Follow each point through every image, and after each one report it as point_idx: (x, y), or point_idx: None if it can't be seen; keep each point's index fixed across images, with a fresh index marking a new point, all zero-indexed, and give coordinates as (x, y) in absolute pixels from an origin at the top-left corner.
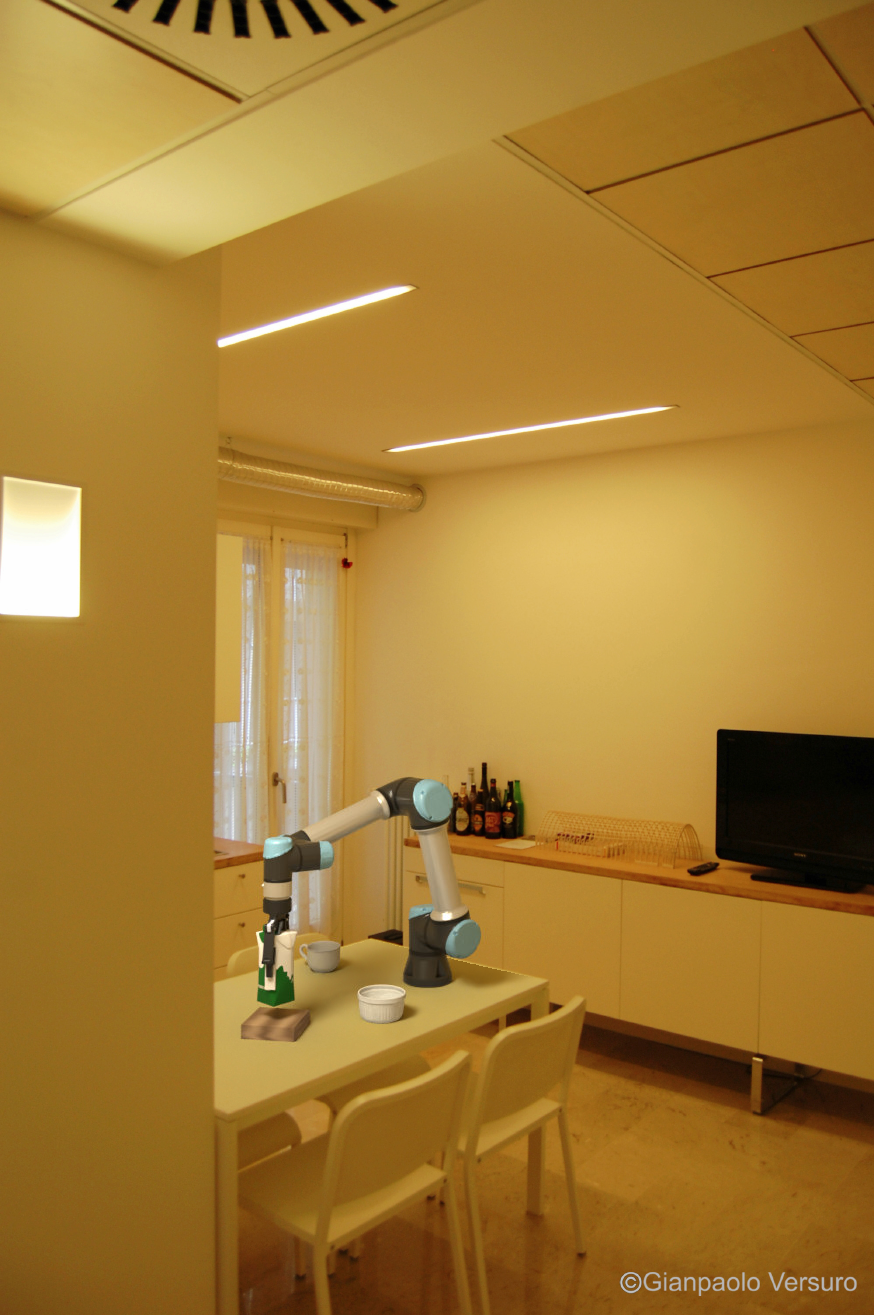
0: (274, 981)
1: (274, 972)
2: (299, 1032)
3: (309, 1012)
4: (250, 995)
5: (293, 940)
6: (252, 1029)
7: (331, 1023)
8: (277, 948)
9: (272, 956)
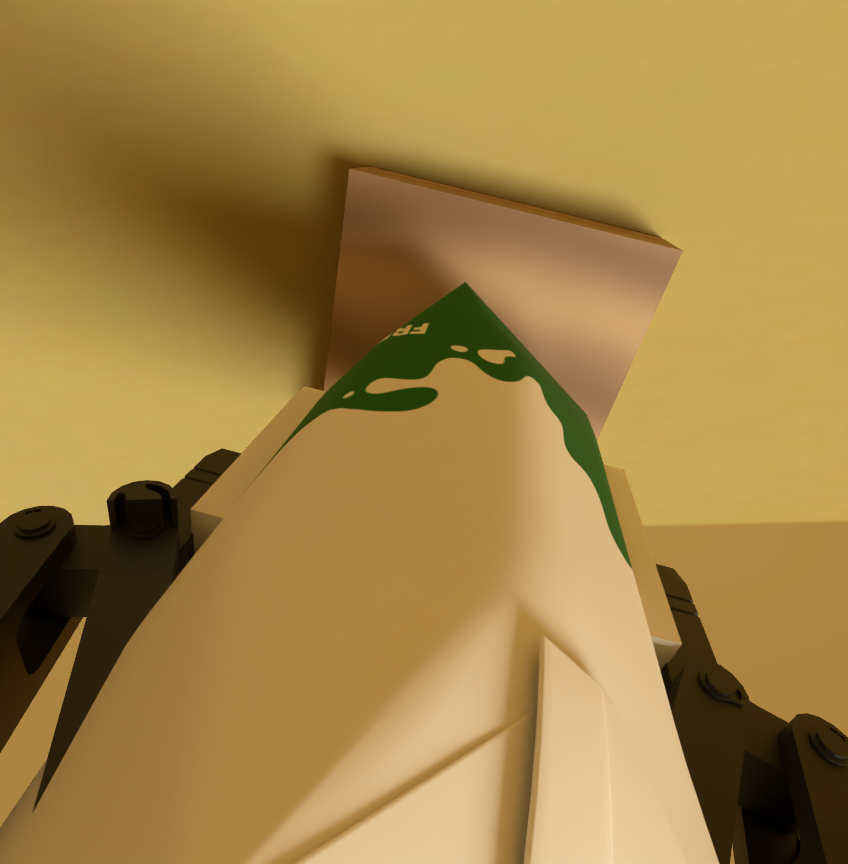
0: (635, 516)
1: (653, 577)
2: (559, 214)
3: (355, 169)
4: (54, 462)
5: (436, 732)
6: None
7: (367, 7)
8: (716, 860)
9: (838, 816)
